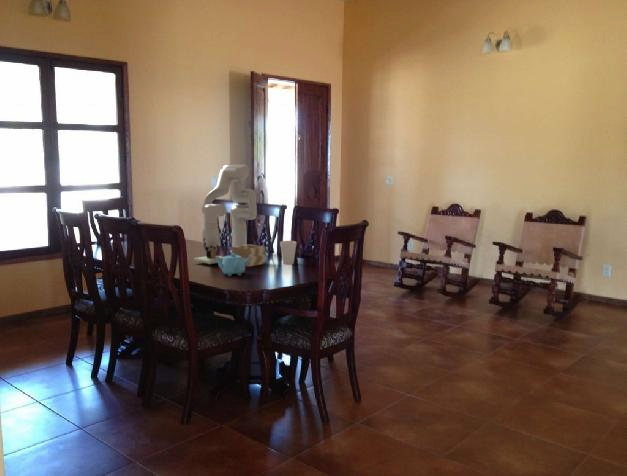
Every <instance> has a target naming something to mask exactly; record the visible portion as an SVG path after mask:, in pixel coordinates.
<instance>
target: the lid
mask: <svg viewBox="0 0 627 476" xmlns="http://www.w3.org/2000/svg"><path fill="white" fill-rule="evenodd" d="M210 251H211V258H207V256H206V255H205V256H199V257H194V258H193V261H197V262H198V263H204V264H208V265H213V264H218V259H217V257H215V256H217V255H216V253H217V250H216V249H214V248H213V247H212V248H211V247H210ZM218 256H219V257H220V260H221V263H222V261H223V259H224V257H225V256H220V255H218Z"/></svg>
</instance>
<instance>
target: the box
mask: <svg viewBox="0 0 627 476" xmlns="http://www.w3.org/2000/svg"><path fill="white" fill-rule="evenodd" d="M231 250H232V253H234V254H235V255H238V256H241V257H242V259H243V261H245V260H246V259H247V258H248V257H249V258H250V259H251V260H250V261H249V262H248V264H247V265H246V266H245V267H253V266H258V265H264V264H266V263H267V261H266V260H267V259H266V258H267V257H266V255H267V248H266V246H263V245H256V244H251V243H250V244H247V245H241V246H234V247H232V246H231ZM232 253H231V254H232Z"/></svg>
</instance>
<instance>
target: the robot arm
mask: <svg viewBox="0 0 627 476" xmlns="http://www.w3.org/2000/svg"><path fill="white" fill-rule="evenodd" d="M249 175H250V168H249V166H248V165H247V164H232V163H230V164H224V165H223V166H222V168H221V169H220V170H219V172H218V176H217V180H216V183H215V187H214V188H213V189H212V190H211V191H210V192H208V194H207V195H206V196H205V197H204V199H203V202H202V207H201V214H202V215H203V218H204V220H203V221H204V228H203V230H202V235H201V236H202V237H201V248H203V250H205V252H206V253H205V254H206V255H205V256H207V258H211V251H210V248H211V247H212V248H214V249H216V251H217V250H218V249H219V247H220V246H221V244H222V243H221V240H220V238H221V236H220V231H219V230H220V229H219V223H218V217H219V218H221V217H224V216H225V215H226V213H227V207H226V206H225V205H224V204H222V203H212V202H213V201H215V200H216V199H219V198H221V197H224V196H226V195H227V194H228V193H229V191H230V194H231V200H232V202H233V203H234V205H232V206H231V207H230V218H231V237H232V238H231V239H232V240H231V244H232V245H231V248H232V247H234V246H241V245H248V244H247V236H248V235H247V234H248V233H247V224H246V222H245V220H246V221H248V220H249V221H250V220H255V219H256V218H257V215H258V209H257V208H258V206H257V194H256V192H255V190H254V189H251V188H245V186H244V180H246V179H247V178H248V177H249ZM229 253H230V254H232V249H230V250H229ZM217 254H218V253H217V252H216V256H218V255H217Z"/></svg>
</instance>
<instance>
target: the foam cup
mask: <svg viewBox="0 0 627 476" xmlns="http://www.w3.org/2000/svg"><path fill="white" fill-rule="evenodd" d="M279 244H280V246H279V247H280V250H281V258H282V264H283V265H294V263H295V257H296V256H295V255H296V249H297V248H296V247H297V241H295V240H282V241H280V242H279Z"/></svg>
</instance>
